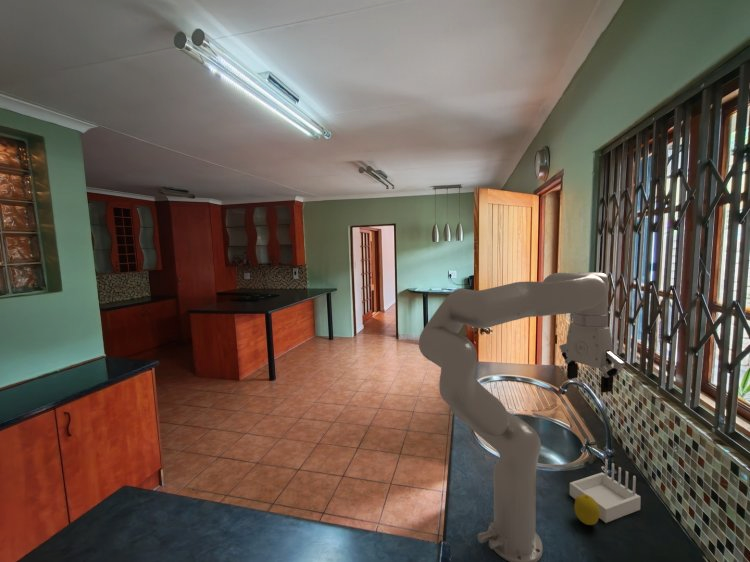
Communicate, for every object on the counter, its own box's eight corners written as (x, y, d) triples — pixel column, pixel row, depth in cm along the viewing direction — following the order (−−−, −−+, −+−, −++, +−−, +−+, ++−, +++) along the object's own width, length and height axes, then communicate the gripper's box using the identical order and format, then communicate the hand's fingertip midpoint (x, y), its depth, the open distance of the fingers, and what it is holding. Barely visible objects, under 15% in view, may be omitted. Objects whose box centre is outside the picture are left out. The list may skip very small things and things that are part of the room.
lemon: (603, 534, 85) (603, 504, 84) (579, 531, 86) (579, 501, 85) (593, 517, 90) (594, 489, 89) (570, 514, 91) (571, 486, 91)
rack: (605, 522, 88) (606, 491, 87) (569, 494, 98) (570, 466, 98) (640, 509, 92) (641, 479, 91) (602, 484, 103) (602, 456, 102)
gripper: (551, 315, 93) (550, 375, 95) (612, 328, 77) (610, 400, 78) (571, 313, 96) (570, 371, 97) (635, 325, 79) (633, 394, 81)
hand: (588, 384), depth 88 cm, fingers open, 9 cm apart
